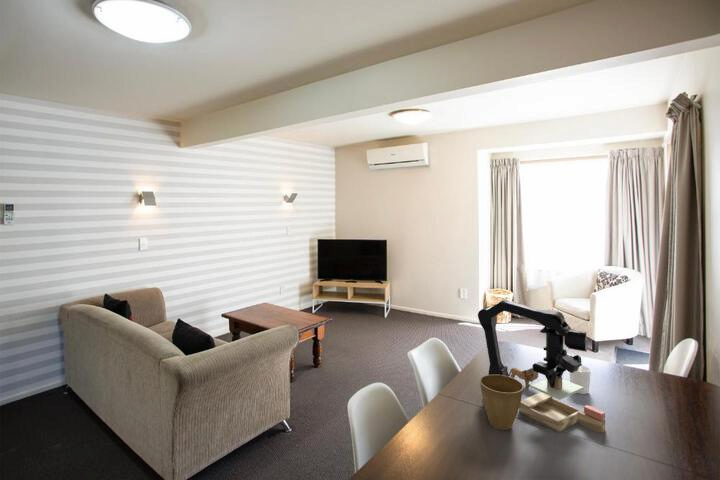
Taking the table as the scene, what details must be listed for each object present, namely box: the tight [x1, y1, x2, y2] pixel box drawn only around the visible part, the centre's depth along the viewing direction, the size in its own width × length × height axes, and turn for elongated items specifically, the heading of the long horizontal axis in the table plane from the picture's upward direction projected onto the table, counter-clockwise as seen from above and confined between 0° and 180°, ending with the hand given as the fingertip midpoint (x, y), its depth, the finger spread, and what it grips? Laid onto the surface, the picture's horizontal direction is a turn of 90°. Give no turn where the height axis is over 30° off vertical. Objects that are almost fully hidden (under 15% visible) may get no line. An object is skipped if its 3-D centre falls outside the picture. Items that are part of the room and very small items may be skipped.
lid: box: [530, 376, 584, 401], centre depth 134 cm, size 15×11×6 cm
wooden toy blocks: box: [518, 391, 606, 434], centre depth 133 cm, size 15×24×4 cm, turn 30°
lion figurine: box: [508, 367, 539, 389], centre depth 163 cm, size 15×5×9 cm, turn 47°
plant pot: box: [479, 374, 524, 431], centre depth 132 cm, size 15×15×16 cm
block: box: [583, 404, 606, 421], centre depth 128 cm, size 2×6×2 cm, turn 30°
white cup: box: [569, 365, 591, 395], centre depth 156 cm, size 8×8×10 cm
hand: (554, 386), depth 134 cm, fingers closed on lid, 2 cm apart
